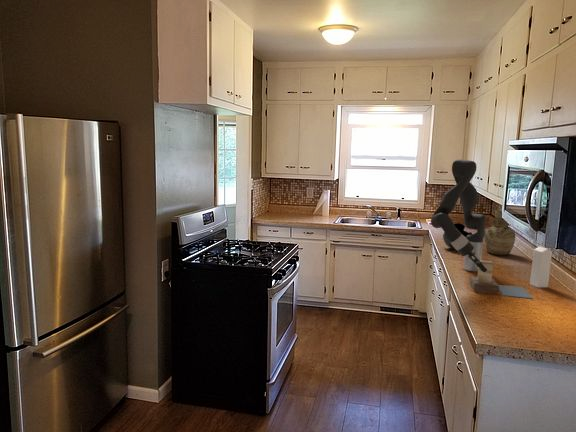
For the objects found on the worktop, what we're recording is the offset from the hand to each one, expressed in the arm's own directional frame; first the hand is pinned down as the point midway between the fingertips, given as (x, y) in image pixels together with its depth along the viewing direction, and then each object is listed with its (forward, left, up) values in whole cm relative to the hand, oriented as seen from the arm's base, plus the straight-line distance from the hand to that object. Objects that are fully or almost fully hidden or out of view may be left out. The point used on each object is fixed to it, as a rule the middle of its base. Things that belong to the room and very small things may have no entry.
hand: (484, 269), depth 221 cm
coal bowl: (-96, -1, -10) cm, 96 cm away
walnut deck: (0, +1, -10) cm, 10 cm away
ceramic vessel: (-94, +26, -10) cm, 98 cm away
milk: (-17, +31, -10) cm, 36 cm away
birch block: (0, +1, -6) cm, 6 cm away
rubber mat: (0, +15, -10) cm, 18 cm away
